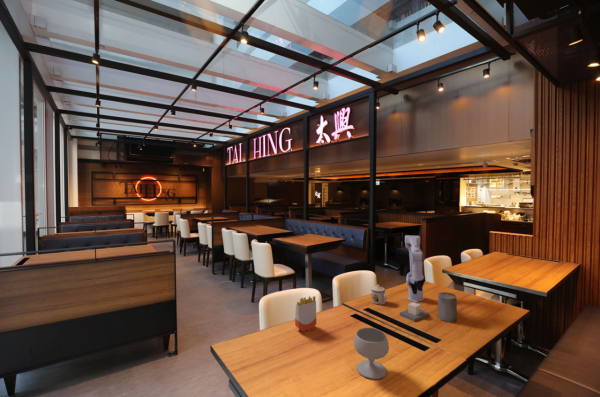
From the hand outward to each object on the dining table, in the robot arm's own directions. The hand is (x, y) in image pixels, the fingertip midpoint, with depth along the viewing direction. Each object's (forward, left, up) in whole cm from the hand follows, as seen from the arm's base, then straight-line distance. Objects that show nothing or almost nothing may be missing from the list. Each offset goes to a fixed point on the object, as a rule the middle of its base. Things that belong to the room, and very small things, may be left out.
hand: (417, 292), depth 173 cm
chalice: (+69, +27, -11) cm, 75 cm away
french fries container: (+73, -17, -11) cm, 76 cm away
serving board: (+10, +5, -10) cm, 15 cm away
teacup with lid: (+13, -19, -11) cm, 25 cm away
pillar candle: (-2, +18, -11) cm, 21 cm away
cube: (+10, +5, -9) cm, 14 cm away
